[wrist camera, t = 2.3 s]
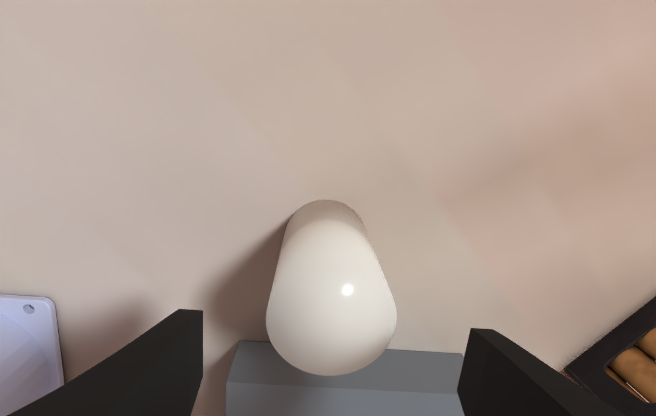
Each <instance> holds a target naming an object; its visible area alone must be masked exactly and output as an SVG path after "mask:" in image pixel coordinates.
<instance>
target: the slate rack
mask: <svg viewBox="0 0 656 416" xmlns="http://www.w3.org/2000/svg"><path fill="white" fill-rule="evenodd" d="M463 361H464V357H463V355H462V354H457V353H440V352H423V351H406V350H389V349H385V350H384V352H383V353H382V354H381V355H380V356H379V357H378V358H377V359H376V360H374V361H373V362H372V363H370V364H369V365H367V366H366V367H364V368H362V369H359V370H357V371H354V372H351V373H348V374H343V375H336V376H323V375H316V374H312V373H308V372H305V371H302V370H300V369H298V368H296V367H294V366H293V365H291V364H290V363H288V362H287V361H286V360H285V359H283V358H282V357H281V356H280V354H279V353H278V352H277V351H276V349H275V348H274V347H273V345H272V343H271V342H254V341H239V343H238V346H237V349H236V352H235V356H234V359H233V362H232V365H231V368H230V371H229V374H228V377H227V381H226V403H225V416H465V415H464V412H463V409H462V406H461V403H460V399H459V396H458V393H457V387H458V382H459V378H460V374H461V369H462V365H463Z"/></svg>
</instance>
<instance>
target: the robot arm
mask: <svg viewBox="0 0 656 416" xmlns="http://www.w3.org/2000/svg"><path fill="white" fill-rule="evenodd" d="M30 305H32V306H33V307H34V309H32V308H31V307H30ZM202 377H203V311H201V310H186V309H179V310H177V311H175V312H174V313H172V314H171V315H169V316H168V317H167V318H165V319H164V320H162V321H161V322H159V323H158V324H157V325H155V326H154V327H152V328H151V329H150V330H148V331H147V332H145V333H144V334H142V335H141V336H139V337H138V338H137V339H135V340H134V341H132V342H131V343H129V344H128V345H126V346H125V347H123V348H122V349H120V350H119V351H118V352H116V353H115V354H113V355H111V356H110V357H108V358H107V359H105V360H103V361H102V362H100V363H99V364H97V365H95V366H94V367H92V368H91V369H89V370H87V371H86V372H84V373H83V374H81V375H79V376H78V377H76V378H75V379H73V380H71V381H70V382H68V383H66V384H64V376H63V368H62V359H61V351H60V343H59V335H58V326H57V318H56V310H55V305H54V303H53V302H52V300H50V299H49V298H46V297H36V296H21V295H5V294H0V416H190V415H191V412H192V409H193V406H194V403H195V400H196V397H197V393H198V390H199V387H200V384H201V380H202ZM457 393H458V396H459V399H460V403H461V406H462V409H463V412H464V415H465V416H626V415H624V414H623V413H621V412H619V411H618V410H616V409H615V408H613V407H611V406H610V405H608V404H607V403H605V402H603V401H602V400H600V399H598V398H597V397H595V396H594V395H592V394H590V393H589V392H587V391H586V390H584V389H583V388H581V387H580V386H578V385H577V384H575V383H574V382H572V381H571V380H569V379H568V378H566V377H565V376H563V375H562V374H560V373H559V372H557V371H556V370H554V369H553V368H551V367H550V366H548V365H547V364H545V363H544V362H542V361H541V360H539V359H538V358H536V357H535V356H534V355H532V354H531V353H529V352H528V351H526V350H525V349H523V348H522V347H520V346H519V345H517V344H516V343H514V342H513V341H511V340H510V339H508V338H506V337H505V336H503V335H502V334H500V333H498V332H496V331H495V330H493V329H477V328H471V330H470V334H469V339H468V343H467V347H466V352H465V356H464V361H463V365H462V369H461V374H460V378H459V382H458V387H457Z"/></svg>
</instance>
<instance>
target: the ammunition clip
mask: <svg viewBox="0 0 656 416" xmlns="http://www.w3.org/2000/svg"><path fill="white" fill-rule="evenodd" d="M655 360H656V297H654V298H653V299H652V300H651V301H649V302H648V303H647V304H645V305H644V306H643V307H642V308H640V309H639V310H638V311H637V312H635V313H634V314H633V315H631V316H630V317H629V318H628V319H626V320H625V321H624V322H622V323H621V324H620V325H619V326H617V327H616V328H615V329H613V330H612V331H611V332H610V333H608V334H607V335H606V336H605V337H603V338H602V339H601V340H599V341H598V342H597V343H596V344H594V345H593V346H592V347H590V348H589V349H588V350H587V351H585V352H584V353H583V354H581V355H580V356H579V357H578V358H576V359H575V360H574V361H573V362H571V363H570V364H569V365H567V366H566V371H565V372H566V373H567V374H568V375H569V376H571V377H572V378H573V379H574V380H575V381H576V382H577V383H578V384H579V385H580V386H581V387H582V388H583V389H584V390H586V391H587V392H589V393H590V394H592V395H594V396H595V397H597V398H598V399H600V400H602V401H603V402H605V403H607V404H608V405H610V406H611V407H613V408H615V409H616V410H618V411H619V412H621V413H623V414H624V415H626V416H656V362H655ZM627 383H628V384H629V385H631V386H632V387H633V388H634V389H635V390H636V391H637V392H638V393H640V394H641V395H642V396H643V397H644V398H645V399H646V400H647V401H649V402H650V403H648V402H646V401H645V400H644V399H643V398H642V397H641V396H640V395H639V394H638V393H637V392H635V391H634V390H633V389H632V388H631V387H630V386H629V385H628V384H627Z"/></svg>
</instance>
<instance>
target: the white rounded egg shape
mask: <svg viewBox="0 0 656 416" xmlns="http://www.w3.org/2000/svg"><path fill="white" fill-rule="evenodd" d="M396 320H397V315H396V307H395V302H394V300H393V297H392V294H391V292H390V289H389V287H388V284H387V282H386V279H385V277H384V274H383V272H382V269H381V267H380V264H379V262H378V259H377V257H376V254H375V252H374V249H373V247H372V244H371V242H370V239H369V237H368V234H367V231H366V229H365V226H364V224H363V222H362V220H361V218H360V217H359V215H358V214H357V213H356V212H355V211H354V210H353V209H352V208H350V207H349V206H347V205H345V204H343V203H341V202H338V201H333V200H318V201H314V202H311V203H308V204H306V205H304V206H303V207H301V208H300V209H298V210H297V211H296V212H295V213H294V215H293V216H292V217H291V219H290V220H289V222H288V224H287V227H286V230H285V234H284V238H283V243H282V247H281V251H280V255H279V260H278V264H277V268H276V272H275V277H274V281H273V285H272V289H271V294H270V298H269V302H268V306H267V312H266V327H267V333H268V336H269V339H270V341H271V343H272V345H273V347H274V348H275V349H276V351H277V352H278V353H279V354H280V356H281V357H282V358H283V359H285V360H286V361H287V362H288V363H290V364H291V365H293V366H294V367H296V368H298V369H300V370H302V371H305V372H308V373H312V374H316V375H323V376H336V375H343V374H348V373H351V372H354V371H357V370H359V369H362V368H364V367H366V366H367V365H369V364H370V363H372V362H373V361H374V360H376V359H377V358H378V357H379V356H380V355H381V354H382V353H383V352H384V350H385V349H386V348H387V346H388V345H389V343H390V341H391V339H392V337H393V334H394V332H395V327H396Z"/></svg>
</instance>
